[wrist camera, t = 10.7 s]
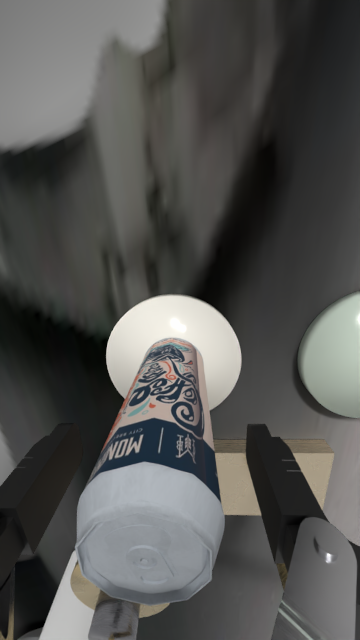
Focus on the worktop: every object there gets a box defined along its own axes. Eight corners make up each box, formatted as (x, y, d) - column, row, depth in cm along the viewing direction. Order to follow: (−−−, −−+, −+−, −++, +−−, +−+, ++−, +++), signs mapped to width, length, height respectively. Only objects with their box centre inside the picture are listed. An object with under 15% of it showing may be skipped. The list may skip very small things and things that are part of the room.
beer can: (191, 327, 17) (198, 483, 5) (211, 378, 18) (250, 601, 6) (135, 345, 17) (27, 522, 6) (157, 394, 18) (104, 623, 7)
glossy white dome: (103, 295, 17) (97, 298, 16) (240, 291, 17) (244, 294, 16) (119, 410, 21) (115, 419, 19) (235, 409, 20) (238, 418, 19)
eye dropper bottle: (108, 572, 28) (52, 794, 16) (68, 555, 27) (-20, 775, 16) (123, 554, 27) (75, 780, 15) (82, 536, 26) (-1, 759, 15)
